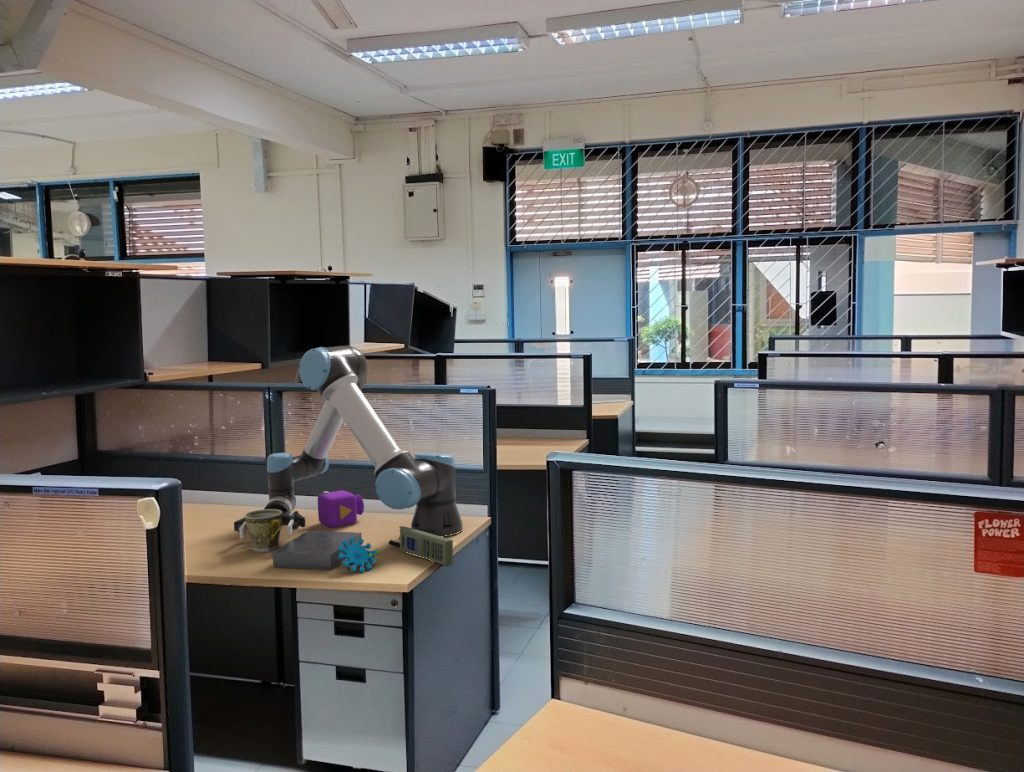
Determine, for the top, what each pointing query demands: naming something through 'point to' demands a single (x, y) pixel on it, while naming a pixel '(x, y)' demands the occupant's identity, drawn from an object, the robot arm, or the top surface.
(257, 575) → the top surface
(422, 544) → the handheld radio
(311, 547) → the stand
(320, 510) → the toy camera
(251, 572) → the top surface
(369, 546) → the gear
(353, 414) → the robot arm
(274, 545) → the ceramic cup
